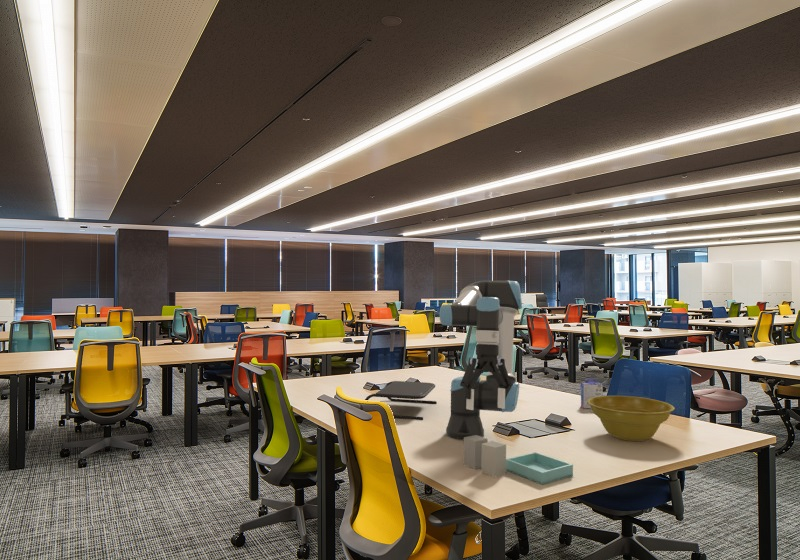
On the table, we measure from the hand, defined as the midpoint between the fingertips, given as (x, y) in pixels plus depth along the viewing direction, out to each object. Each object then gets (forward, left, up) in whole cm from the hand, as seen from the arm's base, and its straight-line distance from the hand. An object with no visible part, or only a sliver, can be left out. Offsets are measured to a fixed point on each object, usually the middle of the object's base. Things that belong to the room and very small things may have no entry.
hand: (485, 408), depth 175 cm
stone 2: (+5, -1, -19) cm, 20 cm away
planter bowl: (+4, +76, -19) cm, 78 cm away
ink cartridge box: (-38, +110, -19) cm, 118 cm away
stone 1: (-3, -1, -19) cm, 19 cm away
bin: (+13, +11, -19) cm, 25 cm away
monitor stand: (-85, +26, -20) cm, 91 cm away
